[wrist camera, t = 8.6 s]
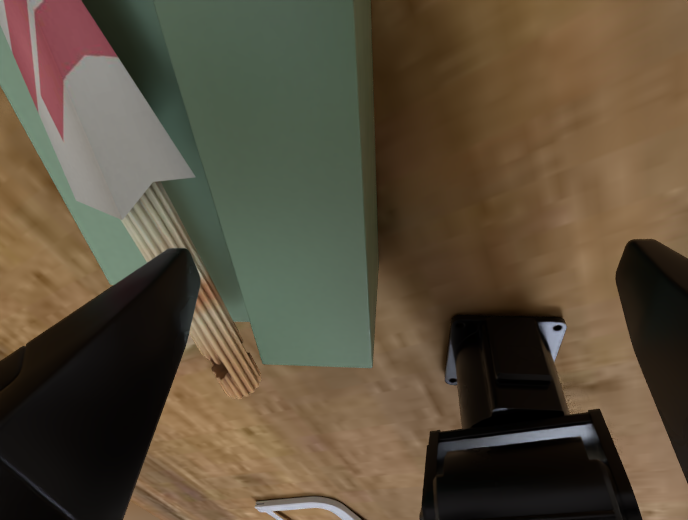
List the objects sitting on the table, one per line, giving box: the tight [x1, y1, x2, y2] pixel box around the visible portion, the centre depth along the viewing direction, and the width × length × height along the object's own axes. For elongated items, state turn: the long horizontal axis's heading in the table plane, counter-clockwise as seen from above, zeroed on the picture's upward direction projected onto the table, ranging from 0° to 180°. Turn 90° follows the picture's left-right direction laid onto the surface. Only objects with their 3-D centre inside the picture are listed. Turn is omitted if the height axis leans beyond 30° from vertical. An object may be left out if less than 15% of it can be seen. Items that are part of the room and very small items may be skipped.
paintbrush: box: [0, 0, 261, 399], centre depth 16 cm, size 4×3×20 cm
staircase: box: [0, 0, 379, 368], centre depth 18 cm, size 18×15×7 cm
